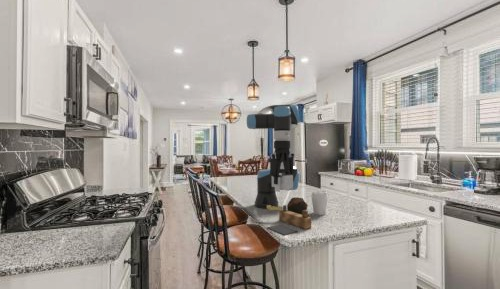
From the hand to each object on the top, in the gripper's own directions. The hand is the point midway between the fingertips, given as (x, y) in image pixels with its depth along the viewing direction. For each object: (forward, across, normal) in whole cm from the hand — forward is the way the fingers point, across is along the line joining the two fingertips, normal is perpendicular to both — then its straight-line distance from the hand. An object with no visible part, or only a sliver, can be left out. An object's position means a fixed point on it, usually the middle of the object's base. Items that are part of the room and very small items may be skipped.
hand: (282, 190), depth 121 cm
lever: (+13, +8, +14) cm, 20 cm away
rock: (+18, +23, +13) cm, 32 cm away
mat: (+18, 0, 0) cm, 18 cm away
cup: (+18, +37, +9) cm, 42 cm away
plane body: (+18, +11, +3) cm, 21 cm away
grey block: (-1, 0, 0) cm, 1 cm away
